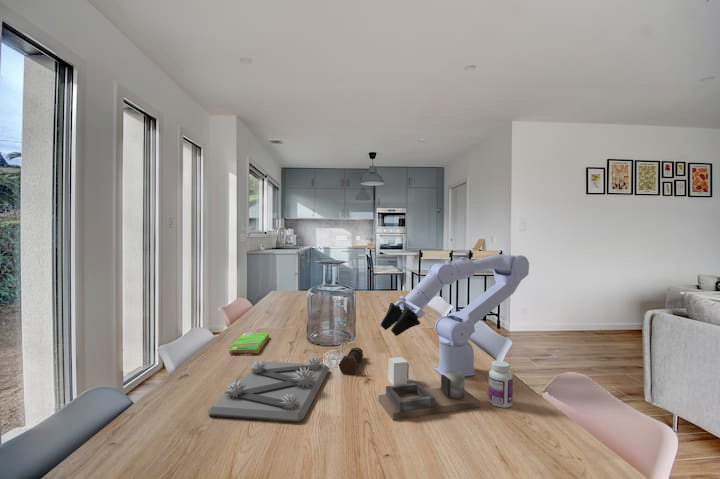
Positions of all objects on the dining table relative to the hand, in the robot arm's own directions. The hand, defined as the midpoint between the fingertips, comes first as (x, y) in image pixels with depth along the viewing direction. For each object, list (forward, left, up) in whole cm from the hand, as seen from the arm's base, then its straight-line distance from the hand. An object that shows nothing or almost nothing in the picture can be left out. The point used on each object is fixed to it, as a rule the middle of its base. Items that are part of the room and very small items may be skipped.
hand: (388, 330), depth 96 cm
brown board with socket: (-5, +15, -14) cm, 21 cm away
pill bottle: (-22, +19, -14) cm, 32 cm away
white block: (-3, +1, -14) cm, 14 cm away
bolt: (+6, -14, -15) cm, 21 cm away
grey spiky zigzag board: (+29, -2, -15) cm, 33 cm away
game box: (+36, -42, -15) cm, 58 cm away
